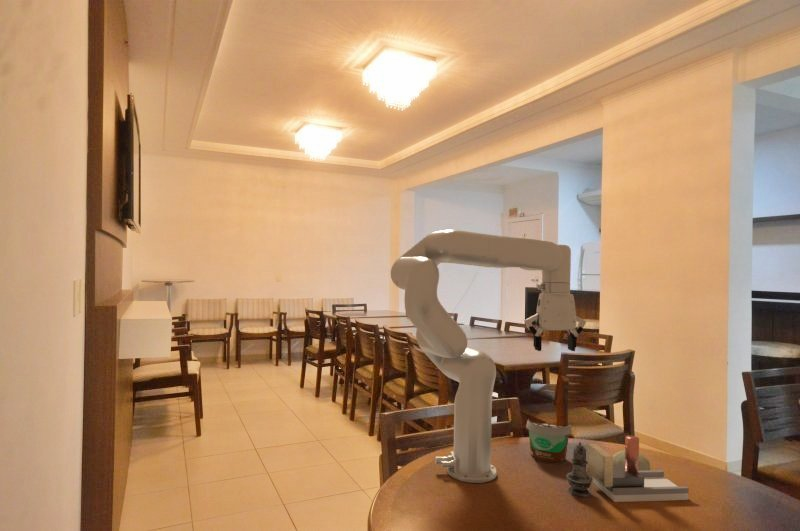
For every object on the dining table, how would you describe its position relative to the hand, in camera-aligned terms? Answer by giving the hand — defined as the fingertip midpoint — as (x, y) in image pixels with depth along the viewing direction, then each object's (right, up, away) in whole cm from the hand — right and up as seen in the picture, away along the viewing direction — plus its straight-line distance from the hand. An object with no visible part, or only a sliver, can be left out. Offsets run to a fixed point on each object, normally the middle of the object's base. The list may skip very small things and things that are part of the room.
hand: (554, 350), depth 135 cm
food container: (-3, -31, -1) cm, 31 cm away
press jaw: (+9, -29, -19) cm, 36 cm away
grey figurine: (-1, -30, -20) cm, 37 cm away
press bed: (+14, -31, -19) cm, 39 cm away
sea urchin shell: (+18, -31, -6) cm, 36 cm away
